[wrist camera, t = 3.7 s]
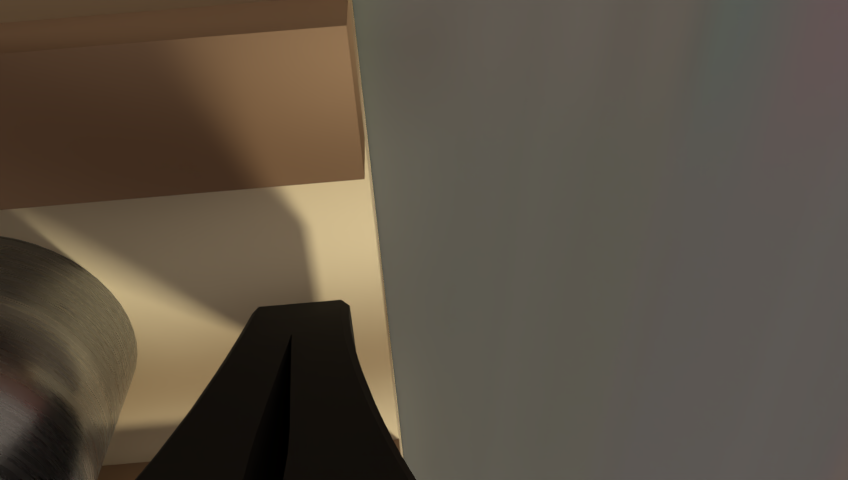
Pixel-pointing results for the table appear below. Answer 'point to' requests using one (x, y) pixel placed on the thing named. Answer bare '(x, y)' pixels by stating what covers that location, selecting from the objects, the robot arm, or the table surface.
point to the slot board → (194, 179)
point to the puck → (58, 365)
